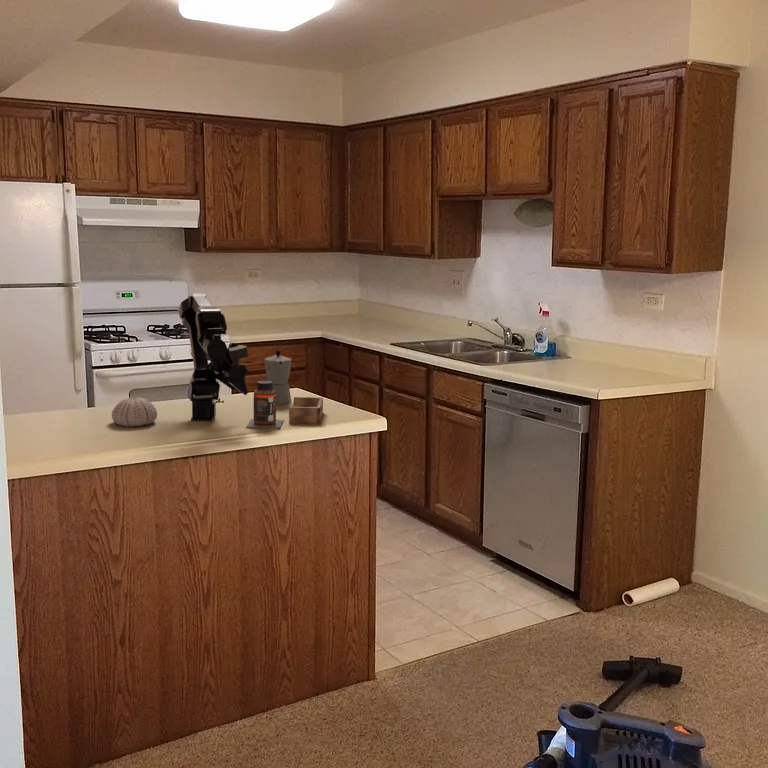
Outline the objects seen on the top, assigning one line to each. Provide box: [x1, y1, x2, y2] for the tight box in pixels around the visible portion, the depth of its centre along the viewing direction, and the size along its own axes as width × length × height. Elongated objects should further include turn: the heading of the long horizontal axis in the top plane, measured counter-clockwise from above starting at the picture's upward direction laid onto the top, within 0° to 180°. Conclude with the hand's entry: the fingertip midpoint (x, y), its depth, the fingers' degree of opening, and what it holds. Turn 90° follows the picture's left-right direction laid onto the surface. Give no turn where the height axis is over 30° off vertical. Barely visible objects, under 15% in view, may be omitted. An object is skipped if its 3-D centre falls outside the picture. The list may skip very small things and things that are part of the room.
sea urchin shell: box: [111, 396, 158, 428], centre depth 251 cm, size 13×14×8 cm
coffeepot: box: [263, 349, 293, 405], centre depth 286 cm, size 15×9×18 cm, turn 15°
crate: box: [288, 396, 324, 425], centre depth 265 cm, size 10×16×5 cm, turn 1°
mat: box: [245, 418, 284, 429], centre depth 254 cm, size 10×10×1 cm
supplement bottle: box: [253, 380, 277, 425], centre depth 253 cm, size 7×7×13 cm
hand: (240, 391), depth 253 cm, fingers open, 9 cm apart
